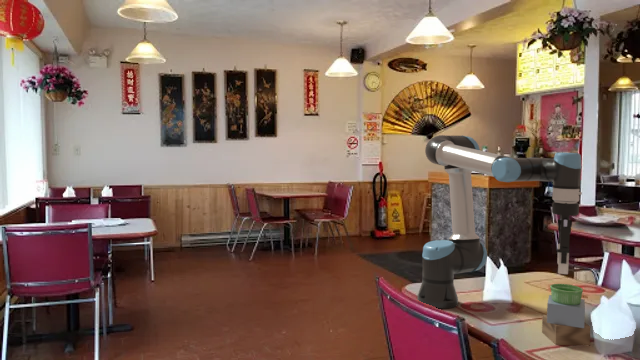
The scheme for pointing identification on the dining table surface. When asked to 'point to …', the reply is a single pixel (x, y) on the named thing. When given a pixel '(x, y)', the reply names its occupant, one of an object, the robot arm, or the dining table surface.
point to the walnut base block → (566, 333)
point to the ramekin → (566, 294)
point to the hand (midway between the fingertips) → (562, 268)
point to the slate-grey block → (566, 313)
